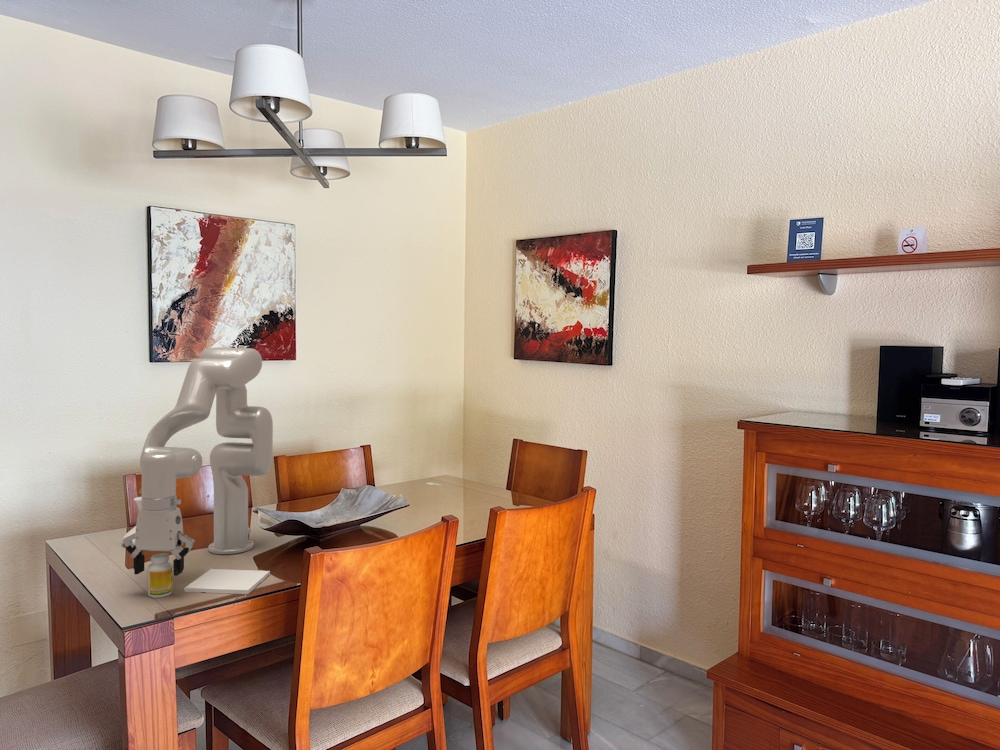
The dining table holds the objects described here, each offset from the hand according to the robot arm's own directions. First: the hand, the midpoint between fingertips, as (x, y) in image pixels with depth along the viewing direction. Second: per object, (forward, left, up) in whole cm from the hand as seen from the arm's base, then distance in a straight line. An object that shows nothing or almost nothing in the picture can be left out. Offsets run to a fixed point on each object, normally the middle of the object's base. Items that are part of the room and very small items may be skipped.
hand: (158, 573), depth 167 cm
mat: (-10, +13, -5) cm, 17 cm away
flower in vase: (-41, -27, -6) cm, 49 cm away
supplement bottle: (-1, 0, -6) cm, 6 cm away
